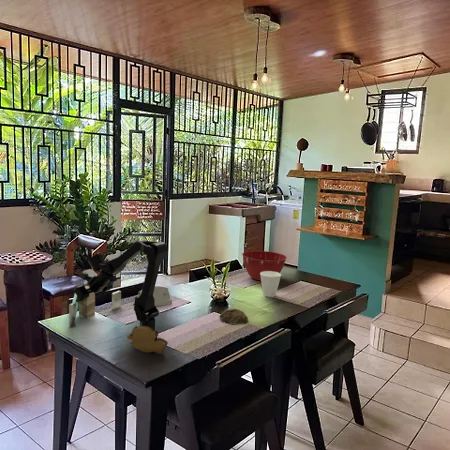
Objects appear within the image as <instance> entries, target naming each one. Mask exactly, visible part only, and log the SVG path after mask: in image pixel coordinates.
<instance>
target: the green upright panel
mask: <svg viewBox="0 0 450 450" xmlns="http://www.w3.org/2000/svg"><path fill="white" fill-rule="evenodd" d="M76 298H77V295H76V294H75V293H74V296H73V298H72V303H74V304H75V319H76V318H77V313H78V310H79V302H76Z"/></svg>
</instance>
